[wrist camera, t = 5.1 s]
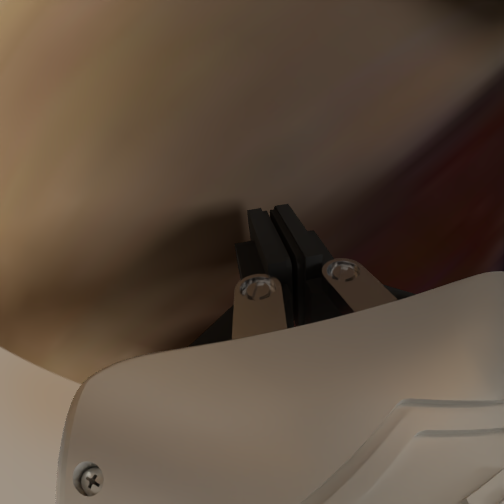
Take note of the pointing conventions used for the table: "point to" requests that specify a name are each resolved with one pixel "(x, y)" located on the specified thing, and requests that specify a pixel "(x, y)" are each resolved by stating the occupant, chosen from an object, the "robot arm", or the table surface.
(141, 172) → the table surface
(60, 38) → the table surface
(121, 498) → the robot arm
